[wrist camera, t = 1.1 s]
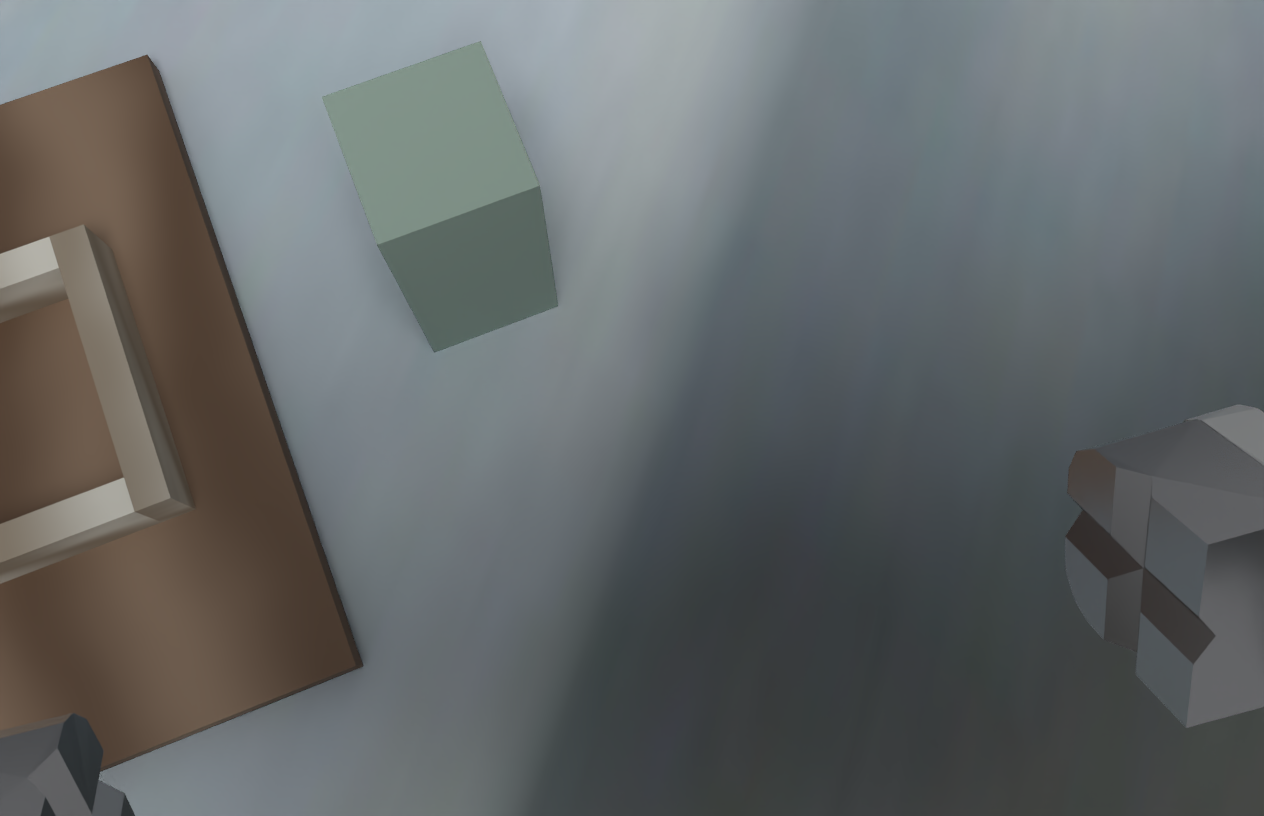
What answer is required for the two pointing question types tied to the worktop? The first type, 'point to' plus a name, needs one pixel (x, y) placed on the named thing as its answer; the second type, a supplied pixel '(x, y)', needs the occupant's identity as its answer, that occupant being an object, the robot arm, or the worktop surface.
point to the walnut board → (139, 442)
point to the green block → (448, 194)
